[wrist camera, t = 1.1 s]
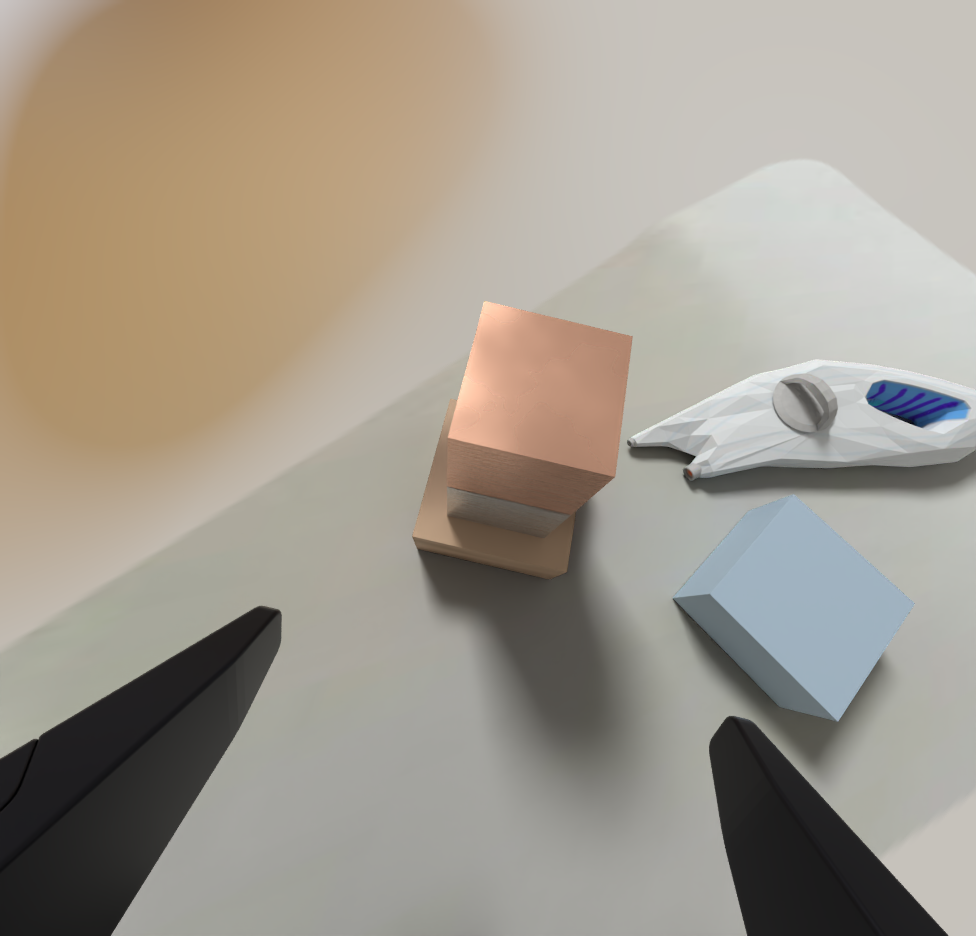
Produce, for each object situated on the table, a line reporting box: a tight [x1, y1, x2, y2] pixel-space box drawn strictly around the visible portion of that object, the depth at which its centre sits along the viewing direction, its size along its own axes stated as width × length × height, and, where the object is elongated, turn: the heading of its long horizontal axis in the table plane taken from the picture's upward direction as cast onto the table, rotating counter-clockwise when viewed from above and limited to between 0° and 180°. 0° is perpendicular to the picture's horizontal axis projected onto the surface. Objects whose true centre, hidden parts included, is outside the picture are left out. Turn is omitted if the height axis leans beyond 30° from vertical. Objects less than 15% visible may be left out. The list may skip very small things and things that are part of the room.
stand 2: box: [673, 494, 915, 722], centre depth 22 cm, size 7×7×4 cm
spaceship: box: [627, 359, 976, 480], centre depth 26 cm, size 23×7×4 cm, turn 95°
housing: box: [447, 301, 633, 538], centre depth 17 cm, size 4×4×9 cm
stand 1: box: [412, 399, 576, 579], centre depth 23 cm, size 7×7×4 cm
